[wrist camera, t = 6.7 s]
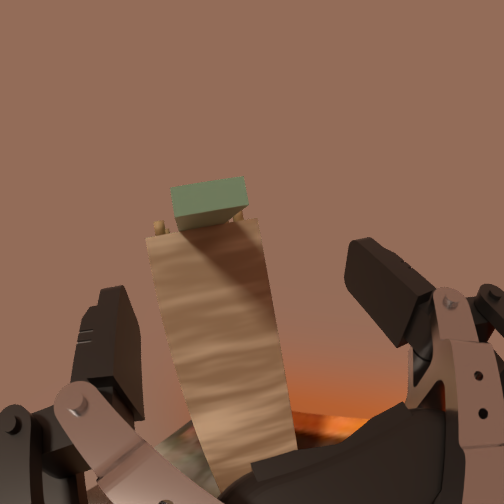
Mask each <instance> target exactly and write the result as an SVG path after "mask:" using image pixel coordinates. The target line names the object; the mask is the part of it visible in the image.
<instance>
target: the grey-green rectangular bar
mask: <svg viewBox="0 0 504 504" xmlns="http://www.w3.org/2000/svg"><path fill="white" fill-rule="evenodd" d="M170 189H171V196H172V203H173V209H174V215H175V220H176V223H177V226H178V230H179V232H180V231H185V230H191V229H196V228H202V227H207V226H213V225H219V224H224V223H226V222H227V221H228V220H229V219H231V218H232V217H233V216H235V215H236V214H237V213H239V212H240V211H241V210H243V209H244V208H245V207H247V206H248V205H249V203H248V197H247V193H246V187H245V182H244V177H243V176H242V177H236V178H228V179H221V180H214V181H208V182H201V183H195V184H189V185H183V186H178V187H172V188H170Z"/></svg>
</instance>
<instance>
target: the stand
mask: <svg viewBox="0 0 504 504" xmlns="http://www.w3.org/2000/svg"><path fill="white" fill-rule="evenodd" d="M233 221H234V222H230V223H229V221H227V222H226V223H224V224H219V225H213V226H207V227H202V228H196V229H191V230H185V231H180V232H175V233H170V232H169V229H165V226H164V221H156V222H154V229H155V235H156V236H154V237H149V238H146V244H147V250H148V256H149V261H150V266H151V271H152V276H153V281H154V286H155V291H156V295H157V300H158V304H159V308H160V313H161V316H162V321H163V325H164V329H165V332H166V337H167V340H168V344H169V348H170V352H171V355H172V358H173V362H174V365H175V369H176V372H177V376H178V379H179V382H180V386H181V388H182V392H183V395H184V398H185V401H186V404H187V407H188V410H189V413H190V416H191V419H192V422H193V425H194V427H195V430H196V433H197V436H198V438H199V441H200V443H201V446H202V449H203V451H204V454H205V456H206V459H207V461H208V464H209V466H210V469H211V471H212V473H213V476H214V478H215V480H216V483H217V485H218V487H219V489H220V492H221V493H222V492H223V491H224V490H225V489H226V488H227V487H228V486H229V485H231V484H232V483H233V482H234V481H236V480H237V479H239V478H240V477H242V476H243V475H245V474H247V473H249V472H251V471H252V469H251V464H250V463H252V462H256V461H260V460H263V459H267V458H270V457H274V456H277V455H280V454H284V453H287V452H290V451H293V450H298V448H297V442H296V436H295V430H294V424H293V418H292V412H291V406H290V400H289V394H288V388H287V382H286V377H285V370H284V365H283V359H282V353H281V347H280V341H279V336H278V330H277V324H276V319H275V314H274V307H273V302H272V296H271V291H270V285H269V280H268V274H267V268H266V263H265V258H264V252H263V247H262V241H261V236H260V230H259V225H258V220H257V218H254V219H248V220H244V219H243V213H242V210H241V211H240V212H239V213H237V214H236V215H235V216H233Z"/></svg>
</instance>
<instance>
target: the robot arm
mask: <svg viewBox="0 0 504 504" xmlns="http://www.w3.org/2000/svg"><path fill="white" fill-rule="evenodd" d="M344 280H345V284H346V287H347V289H348V291H349V292H350V293H351V294H352V295H353V297H354V298H355V299H356V300H357V301H358V302H359V304H360V305H361V306H362V307H363V308H364V309H365V311H366V312H367V313H368V314H369V315H370V316H371V318H372V319H373V320H374V321H375V322H376V324H377V325H378V326H379V327H380V328H381V330H383V332H384V333H385V334H386V336H387V337H388V338H389V339H390V340H391V342H392V343H393V344H394V345H395V347H396V348H398V347H401V346H403V345H405V344H407V343H409V344H410V345H411V346H410V349H409V351H408V393H407V398H406V401H405V404H404V403H403V402H401V403H399V404H397V405H396V406H394V407H392V408H390V409H388V410H386V411H384V412H383V413H381V414H379V415H377V416H375V417H373V418H371V419H370V420H369V421H368V422H367V423H365V424H364V425H363V426H362V427H361V428H359V429H358V430H357V431H356V432H354V433H353V434H352V435H351V436H349V437H348V438H347V439H346V440H344V441H343V442H341V443H339V444H336V445H330V446H323V447H316V448H309V449H300V450H293V451H290V452H287V453H284V454H280V455H277V456H274V457H270V458H267V459H263V460H260V461H256V462H252V463H250V464H251V469H252V471H251V472H249V473H247V474H245V475H243V476H242V477H240V478H239V479H237V480H236V481H234V482H233V483H232V484H231V485H229V486H228V487H227V488H226V489H225V490H224V491H223V492H222V493H221V494H220V496H219V497H218V498H217V499H216V498H215V497H214V496H212V495H211V494H209V493H208V492H207V491H205V490H204V489H202V488H201V487H200V486H198V485H197V484H196V483H194V482H193V481H192V480H191V479H189V478H188V477H187V476H185V475H184V474H183V473H182V472H181V471H179V470H178V469H177V468H176V467H174V466H173V465H172V464H171V463H170V462H169V461H167V460H166V459H165V458H164V457H163V456H162V455H161V454H159V453H158V452H157V451H156V450H155V449H154V448H153V447H152V446H151V445H149V444H148V443H147V442H146V441H145V440H144V439H142V438H141V437H140V436H139V435H138V434H137V433H136V432H135V427H134V421H143V420H145V417H144V405H143V392H142V371H141V336H140V329H139V325H138V321H137V319H136V316H135V313H134V311H133V308H132V306H131V303H130V300H129V298H128V295H127V292H126V290H125V288H124V286H123V285H121V286H115V287H110V288H105V289H101V291H100V295H99V300H98V305H97V306H92V307H90V308H89V309H88V310H87V312H86V314H85V315H84V316H83V318H82V321H81V325H80V333H79V335H78V340H77V342H78V344H77V345H76V351H75V356H74V362H73V369H72V376H71V382H70V384H68V385H66V386H65V387H63V388H62V389H61V390H60V391H59V393H58V394H57V396H56V398H55V401H54V405H53V406H50V407H48V408H45V409H43V410H40V411H37V412H34V413H32V414H30V413H29V412H28V411H27V410H26V409H25V408H24V407H22V406H21V405H15V404H14V405H10V406H8V407H6V408H5V409H3V411H2V412H1V413H0V504H88V500H87V493H86V486H85V478H84V472H85V471H88V470H90V469H92V470H93V471H94V472H95V474H96V475H97V477H98V479H97V483H98V485H99V487H100V488H101V490H102V491H103V492H104V493H105V494H106V496H107V497H108V498H109V499H110V500H111V501H112V502H113V503H114V504H504V361H503V360H502V359H501V358H500V356H499V355H498V354H497V353H496V352H495V350H494V349H493V347H492V345H491V344H490V343H488V342H487V341H488V340H489V338H490V336H491V334H492V333H493V331H494V329H496V330H497V331H498V332H499V333H500V334H501V335H502V336H503V337H504V292H503V291H502V290H501V289H500V288H498V287H497V286H494V285H492V284H484V285H482V286H481V287H480V289H479V291H478V293H477V296H476V297H468V298H465V297H464V295H462V294H461V293H460V292H458V291H457V290H454V289H452V288H448V287H441V288H438V289H436V288H435V287H434V286H433V285H432V284H430V283H429V282H428V281H427V280H426V279H425V278H424V277H422V276H421V275H420V274H419V273H418V272H417V271H415V270H414V269H413V268H411V266H410V265H409V264H407V263H406V262H404V261H403V259H401V258H400V257H399V256H398V255H396V254H395V253H394V252H391V251H389V250H387V249H385V248H384V247H382V246H381V245H380V244H379V243H377V242H376V241H375V240H374V239H372V238H370V237H367V238H363V239H358V240H353V241H351V242H350V244H349V248H348V255H347V261H346V268H345V275H344Z"/></svg>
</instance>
